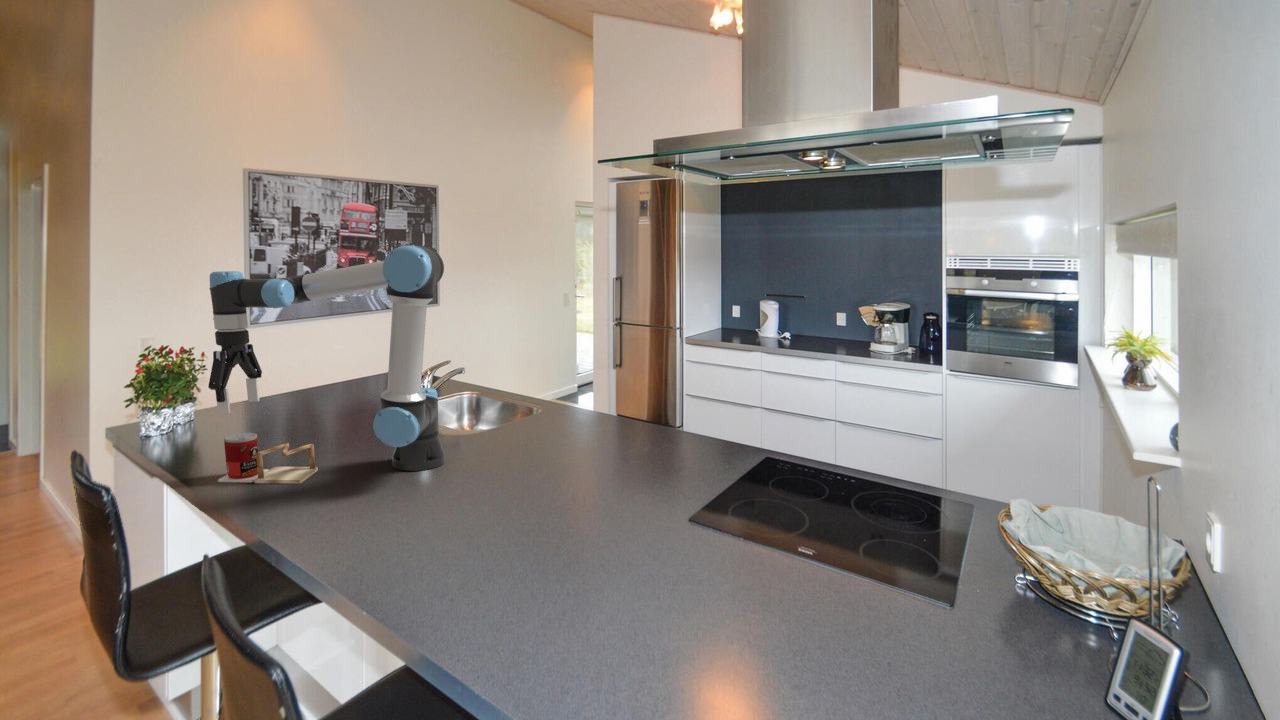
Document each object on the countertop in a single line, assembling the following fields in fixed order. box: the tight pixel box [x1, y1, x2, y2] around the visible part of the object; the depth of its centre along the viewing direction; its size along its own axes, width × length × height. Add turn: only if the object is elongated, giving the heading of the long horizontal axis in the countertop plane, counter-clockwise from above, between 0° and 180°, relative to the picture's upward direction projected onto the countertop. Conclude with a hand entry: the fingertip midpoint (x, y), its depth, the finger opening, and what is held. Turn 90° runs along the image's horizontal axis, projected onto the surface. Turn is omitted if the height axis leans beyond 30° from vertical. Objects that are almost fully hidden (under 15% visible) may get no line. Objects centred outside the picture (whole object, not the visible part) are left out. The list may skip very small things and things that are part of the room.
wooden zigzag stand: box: [253, 442, 319, 485], centre depth 173 cm, size 12×10×8 cm
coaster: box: [217, 468, 270, 483], centre depth 173 cm, size 9×8×1 cm
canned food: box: [223, 432, 260, 479], centre depth 172 cm, size 8×8×11 cm
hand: (239, 407), depth 169 cm, fingers open, 13 cm apart
